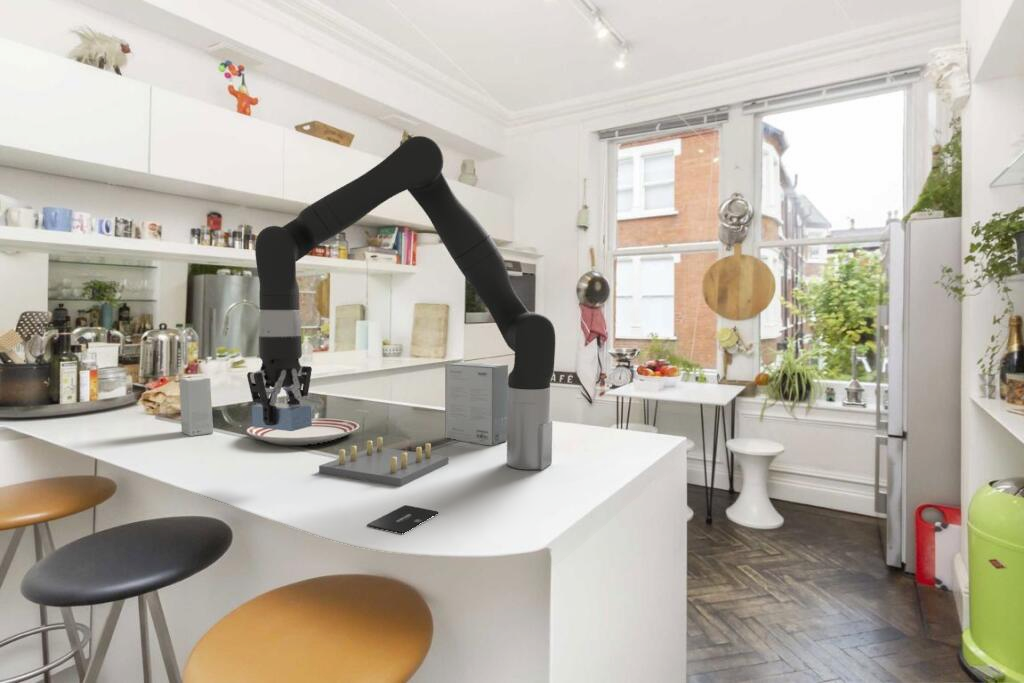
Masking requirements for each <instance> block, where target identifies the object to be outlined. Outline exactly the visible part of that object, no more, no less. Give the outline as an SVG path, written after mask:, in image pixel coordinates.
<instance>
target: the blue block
mask: <svg viewBox="0 0 1024 683" xmlns="http://www.w3.org/2000/svg"><path fill="white" fill-rule="evenodd" d="M274 406H276V424H275V425H273V426H270V425H265V422H264V421H263V406H262V405H261V404H254V405H251V422H252V425H251V427H260V428H268V429H276V430H285V431H295V430H299V429H303V428H306V427H310V426H312V424H311V419H312V405H308V404H300V405H299V404H288V403H287V402H277V401H276V403H275V405H274Z"/></svg>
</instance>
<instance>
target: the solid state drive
mask: <svg viewBox="0 0 1024 683" xmlns="http://www.w3.org/2000/svg"><path fill="white" fill-rule="evenodd" d="M438 513H440V512H439V511H438V510H432V509H428V508H424V507H423V508H422V507H417V506H412V505H402V506H400V507H397V509H395V510H392V511H390V512H389V513H386V514H384V515H383V516H380V517H379V518H376V519H375V520H372V521H370V522H368V523H367V524H366V527H367V526H369V527H368V528H371V527H374V528H373V529H376V528H378V529H377V530H380V529H383V530H382V531H385V530H388V531H387V532H389V531H393V532H392V533H394V532H397V533H401V534H400V535H404V533H405V532H407V531H408V532H410V531H412V530H413V529H412V528H414V527H415V528H417V527H418V526H417V525H419V524H420V523H422V522H424V521H426V520H427V519H429V518H431V517H432V516H434V517H436V516H437V515H436V514H438ZM435 515H436V516H435ZM438 515H439V514H438ZM431 519H432V518H431ZM429 520H430V519H429ZM427 521H428V520H427ZM427 521H426V522H427ZM424 523H425V522H424ZM422 524H423V523H422ZM420 525H421V524H420ZM420 525H419V526H420ZM416 526H417V527H416ZM415 528H414V529H415ZM411 529H412V530H411ZM409 530H410V531H409ZM408 532H407V533H408ZM397 533H396V534H397ZM402 533H403V534H402ZM405 534H406V533H405Z"/></svg>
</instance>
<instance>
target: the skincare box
mask: <svg viewBox="0 0 1024 683" xmlns="http://www.w3.org/2000/svg"><path fill="white" fill-rule="evenodd" d="M178 383H179V404H180V422H181V425H180V426H181V432H182V434H183V433H184V434H186V435H187V436H189V437H194V436H202V435H212V434H213V433H214V426H213V405H212V404H213V403H212V390H211V388H212V387H211V378H210V377H205V376H193V377H182V378H181V377H180V378H178Z"/></svg>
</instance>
